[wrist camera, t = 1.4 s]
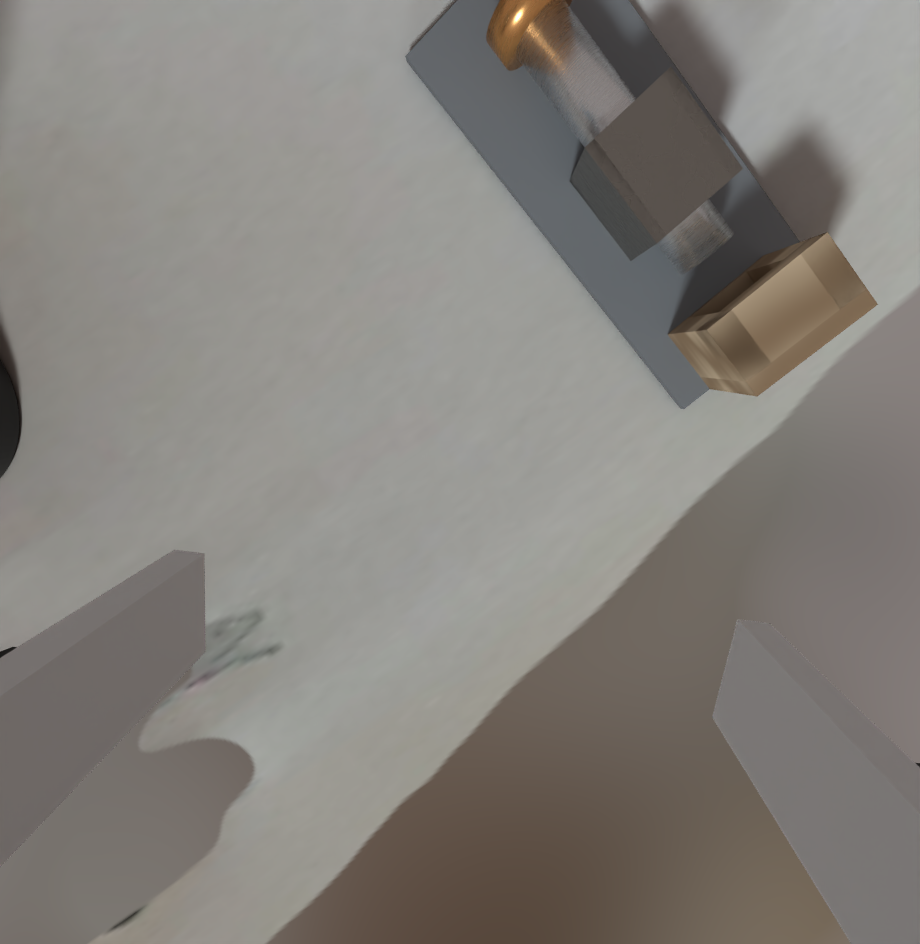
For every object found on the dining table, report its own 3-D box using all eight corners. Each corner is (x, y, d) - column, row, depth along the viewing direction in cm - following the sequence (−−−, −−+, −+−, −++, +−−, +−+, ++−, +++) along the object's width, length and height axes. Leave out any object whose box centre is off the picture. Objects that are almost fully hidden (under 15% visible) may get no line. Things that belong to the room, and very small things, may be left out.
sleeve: (569, 181, 30) (584, 147, 25) (640, 115, 29) (670, 66, 24) (630, 261, 31) (657, 243, 26) (701, 199, 30) (743, 168, 25)
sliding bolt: (486, 62, 29) (485, 9, 25) (549, -3, 28) (560, -70, 24) (659, 288, 31) (687, 277, 27) (722, 234, 30) (762, 213, 26)
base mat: (407, 61, 30) (405, 56, 29) (553, -95, 28) (554, -105, 27) (680, 408, 34) (683, 409, 33) (828, 292, 32) (834, 291, 31)
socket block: (667, 334, 32) (706, 329, 26) (763, 255, 31) (827, 232, 25) (709, 388, 33) (757, 396, 27) (805, 313, 31) (877, 304, 25)
